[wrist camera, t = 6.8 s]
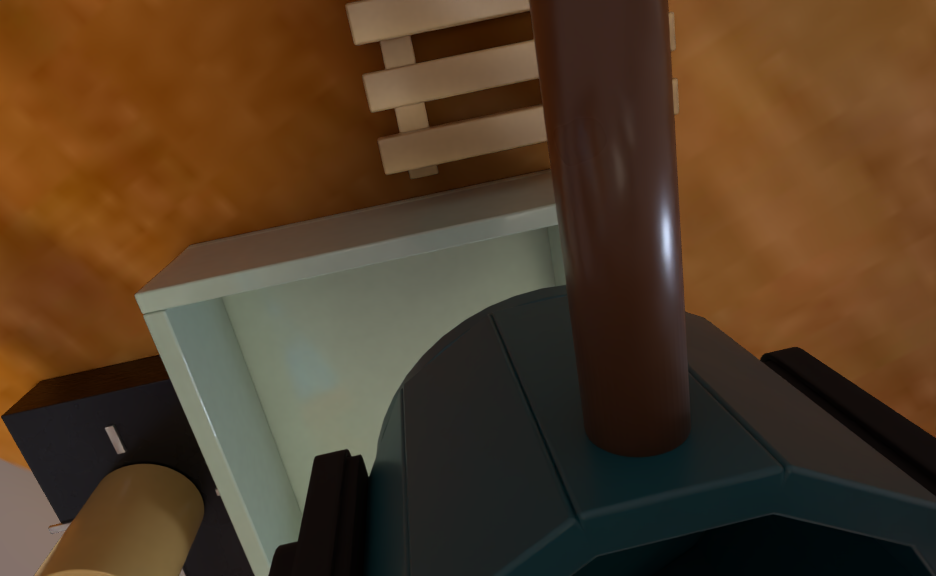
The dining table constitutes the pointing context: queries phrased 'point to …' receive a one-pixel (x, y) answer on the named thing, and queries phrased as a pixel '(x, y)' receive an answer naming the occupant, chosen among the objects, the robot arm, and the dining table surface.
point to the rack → (447, 82)
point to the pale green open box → (331, 330)
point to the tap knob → (131, 526)
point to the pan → (622, 384)
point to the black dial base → (120, 448)
